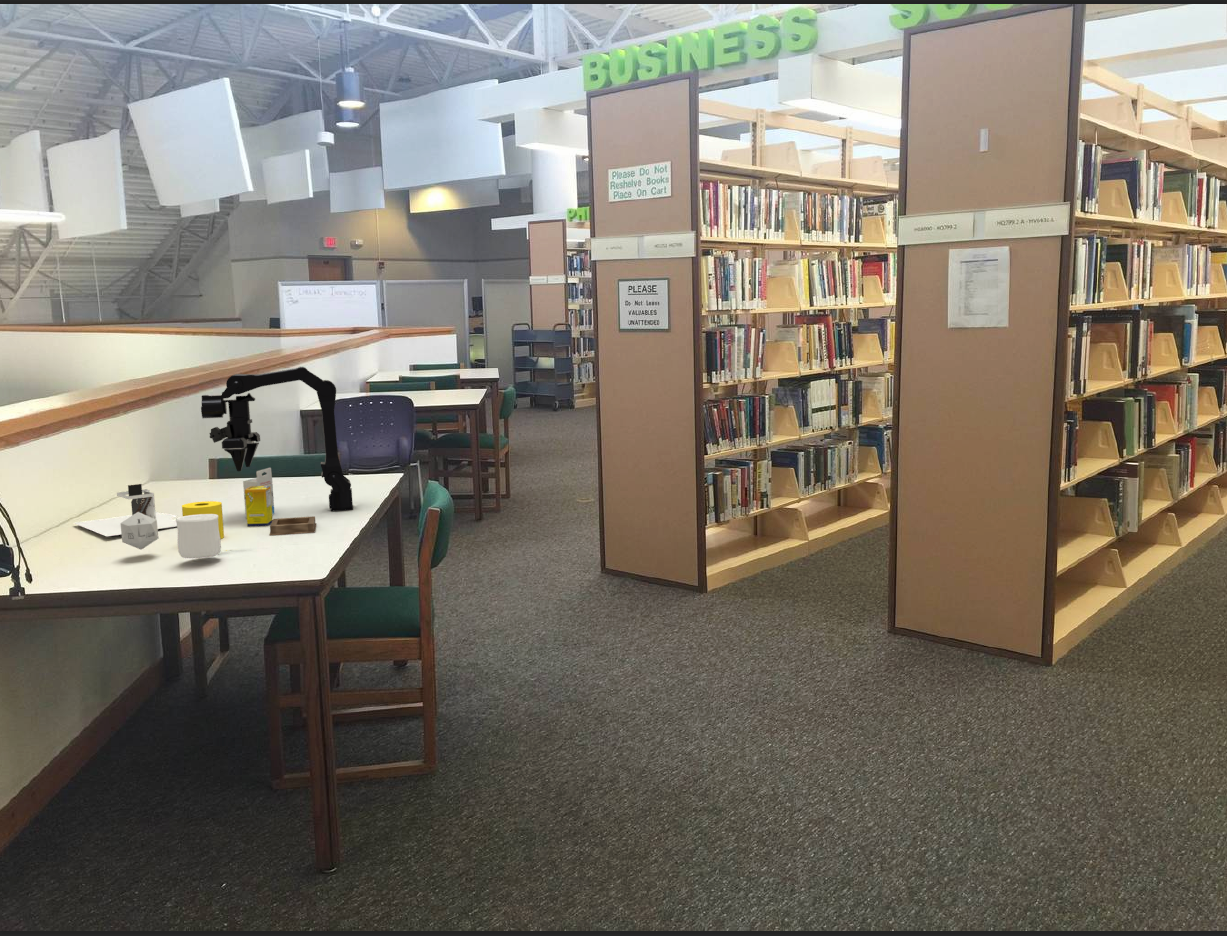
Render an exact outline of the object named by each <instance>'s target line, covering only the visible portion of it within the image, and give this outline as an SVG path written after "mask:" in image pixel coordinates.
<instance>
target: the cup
mask: <svg viewBox="0 0 1227 936" xmlns="http://www.w3.org/2000/svg"><path fill="white" fill-rule="evenodd" d="M175 520H176V523H177V526H176V528H177V529H176V530H177V549H178V554H179V556H180V557H181V558H183V559H203V558H206V559H207V558H210V557H215V556H217V555H219V554H220V553H221V549H222V543H221V541H222V540H221V539H220V534H219V527H218V515H216V514H199V515H188V516H183V515H182V516H177V518H176V519H175Z"/></svg>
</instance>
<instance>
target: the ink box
mask: <svg viewBox="0 0 1227 936" xmlns="http://www.w3.org/2000/svg"><path fill="white" fill-rule="evenodd" d="M264 473H266V474H264ZM263 474H264V475H263ZM242 483H243V496H244V500H243V501H244V512H245V520H247V513H246V499H245V489H247V488H249V487H251V486H270V488H271V504H272V515H274V514H275V502H274V487H273V485H274V484H273V474H272V467H267V468H263V469H259V470H256V477H254V478H250V479H248V480H247V479H246V480H243V481H242Z"/></svg>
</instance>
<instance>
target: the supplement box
mask: <svg viewBox="0 0 1227 936" xmlns="http://www.w3.org/2000/svg"><path fill="white" fill-rule="evenodd" d="M245 499H246V513H247V519H246V525H247V527H250V528H251V527H268V526H270V525H271V523H272V521H273V519H274V518H273V514H272V504H271V488H270V486H251V487H249V488H247V489H245Z"/></svg>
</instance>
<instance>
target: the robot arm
mask: <svg viewBox="0 0 1227 936" xmlns="http://www.w3.org/2000/svg"><path fill="white" fill-rule="evenodd" d="M296 381H301V382H302V383H304V384H305V385H307V386H308V387H310V388H311V389H313V390H314V391H315V392H316V394H317V398H318V401H319V405H320V409H321V415H322V427H323V436H324V437H323V440H324V450H325V456H324V461H320V468H321V474H320V475H321V478H322V479H324V482H325V484H327V486H330V487H331V489H330V493H329V494H328V507H329V509H330V511H331V512H340V511H343V512H344V511H353V510H354V505H353V491H352V489H353V488H351V487H352V483H351V481H350V479H348V478H347V477H346V476H345V475H344V473H343V469H342V465H341V461H340V459H339V458H340V457H339V452H338V440H337V428H336V419H335V409H336V407H335V406H336V400H337V399H336V397H337V387H336V385H335V383H334V382H332V381H331V380H328V379H322V378H321V377H319V376H317V375H316V374H315V373H312V372H311V371H310V370H308V369H307V368H306V367H304V366H299V367H296V368H289V369H284V370H283V369H282V370H278V371H277V370H276V371H272V372H265V373H260V374H259V373H256V374H255V373H254V374H251V373H246V374H245V373H236V374H233V375H231V376H229V377H228V378H227V380H226V383H225V384H226V388H225V389H224V390H223V391H222V392H221V394H217V395H208V394H203V395H201V406H200V409H201V411H200V412H201V413H200V414H201V418H202V419H222V418H224V415H227V414H228V417H229V420H227V422H226V426H224V427H222V428H219V427H218V426H216V427H213V428H211V429H210V432H209V438H210V439H212V441H213V443H214V444H215V443H218V442H220V441H221V449H223V450H224V451H225V452H227V453H228V454H229V455H230V456H231V458H232V461H233V464H234V467H235V470H236V471H237V472H242V469H243V466H244V464H245V467H246V468H250V467H251V464H252V462H253V460H254V456H255V455H256V454H255V453H256V451H257V449H258V447H259V445H260V442H261V434H259V433H258V432H256V431H255V432H254V431H253V432H252V423H253V419H251V414H250V413H251V411H250V402H255V401H256V397H254V396H253V395H252V394H251V393H250V392H249V391H253V390H255V389H256V390H257V389H258V388H261V387H266V386H272V385H279V384H284V383H290V382H296ZM246 392H248V393H247V394H246V395H241V394H244V393H246ZM234 395H236V396H235V398H234V399H229V398H231V397H232V396H234ZM227 404H228V408H227ZM227 409H228V410H227Z"/></svg>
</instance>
